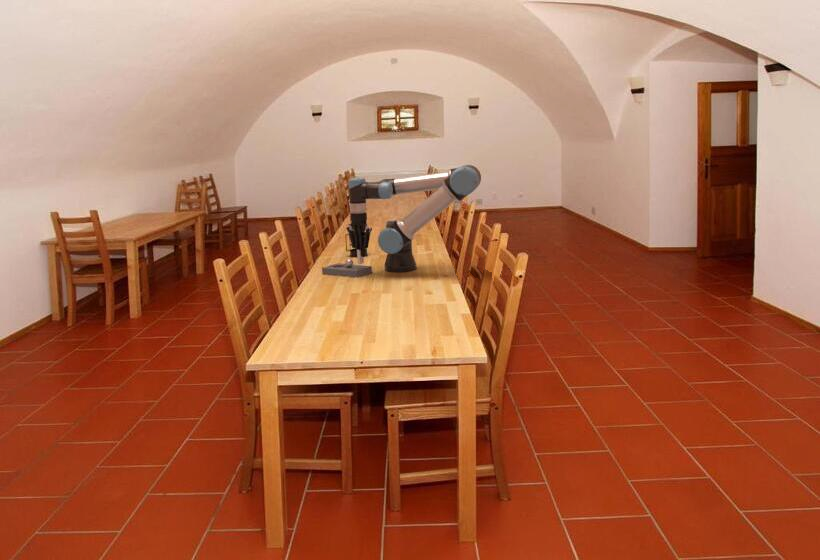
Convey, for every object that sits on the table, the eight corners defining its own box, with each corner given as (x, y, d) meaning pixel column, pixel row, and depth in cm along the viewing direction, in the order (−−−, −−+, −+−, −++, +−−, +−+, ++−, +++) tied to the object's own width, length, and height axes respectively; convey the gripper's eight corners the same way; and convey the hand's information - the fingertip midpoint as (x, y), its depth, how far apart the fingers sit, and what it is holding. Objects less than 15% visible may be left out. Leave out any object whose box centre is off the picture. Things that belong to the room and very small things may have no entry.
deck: (372, 272, 341) (371, 266, 341) (356, 277, 331) (356, 271, 331) (338, 269, 352) (337, 263, 351) (322, 274, 342) (321, 267, 341)
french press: (368, 253, 390) (366, 210, 385) (369, 256, 381) (367, 212, 376) (346, 255, 388) (343, 212, 383) (347, 258, 379) (344, 214, 374)
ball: (355, 266, 341) (354, 258, 340) (350, 268, 338) (349, 259, 337) (348, 266, 343) (348, 257, 342) (343, 267, 340) (342, 259, 339)
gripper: (341, 212, 331) (344, 263, 336) (365, 213, 324) (367, 266, 330) (351, 210, 338) (354, 260, 343) (374, 211, 331) (377, 263, 336)
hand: (360, 263), depth 336 cm, fingers closed
